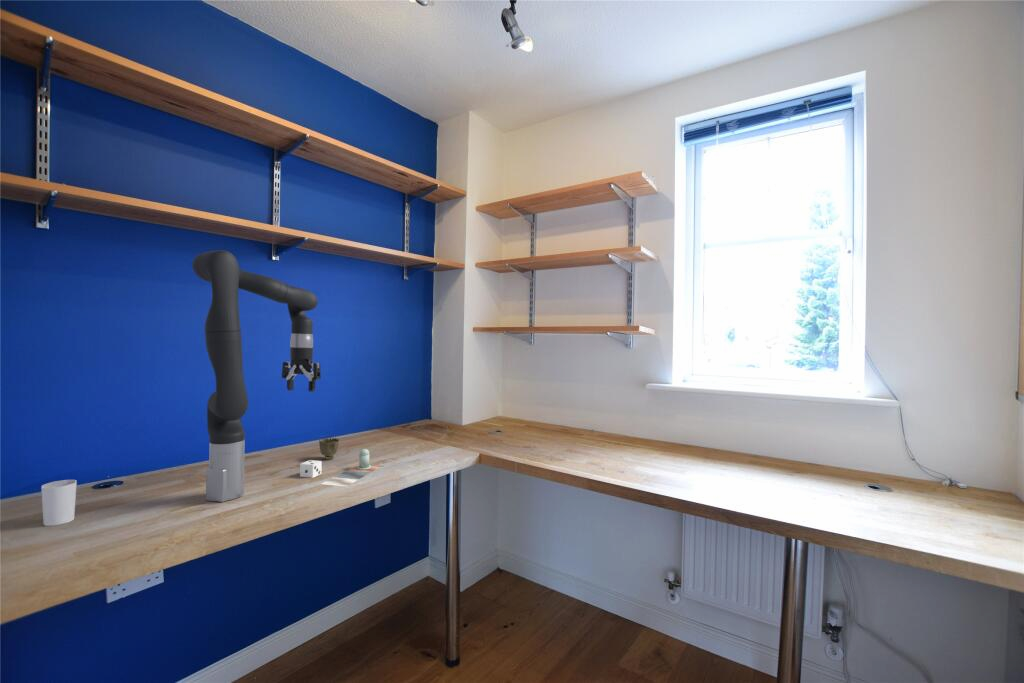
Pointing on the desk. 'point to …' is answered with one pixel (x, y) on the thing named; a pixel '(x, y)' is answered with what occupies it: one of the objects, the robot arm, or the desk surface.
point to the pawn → (364, 460)
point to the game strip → (349, 476)
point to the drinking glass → (58, 502)
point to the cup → (328, 447)
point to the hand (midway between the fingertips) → (301, 390)
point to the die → (310, 468)
